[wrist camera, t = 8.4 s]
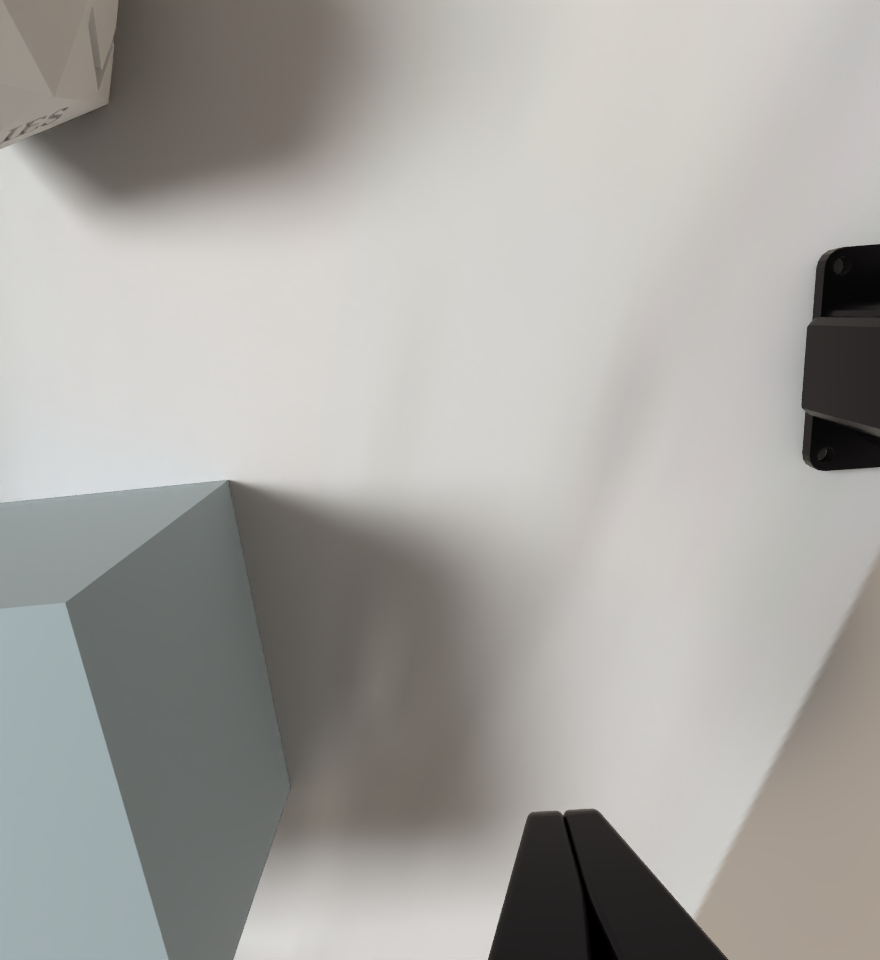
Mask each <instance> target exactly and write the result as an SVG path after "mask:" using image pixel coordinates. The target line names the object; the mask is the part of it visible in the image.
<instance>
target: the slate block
mask: <svg viewBox="0 0 880 960" xmlns="http://www.w3.org/2000/svg"><path fill="white" fill-rule="evenodd" d="M290 788H291V786H290V781H289V776H288V771H287V767H286V762H285V757H284V752H283V747H282V742H281V737H280V732H279V727H278V722H277V717H276V712H275V708H274V703H273V698H272V693H271V688H270V683H269V678H268V673H267V668H266V663H265V658H264V653H263V648H262V644H261V639H260V634H259V629H258V624H257V619H256V614H255V609H254V604H253V599H252V594H251V589H250V585H249V580H248V575H247V570H246V565H245V560H244V555H243V550H242V545H241V540H240V535H239V530H238V525H237V521H236V516H235V511H234V506H233V501H232V496H231V491H230V486H229V481H228V480H223V481H213V482H203V483H193V484H183V485H173V486H163V487H154V488H144V489H134V490H124V491H114V492H104V493H95V494H85V495H75V496H65V497H55V498H45V499H36V500H26V501H16V502H6V503H0V960H233V959H234V956H235V953H236V950H237V947H238V944H239V941H240V938H241V935H242V932H243V929H244V926H245V923H246V920H247V917H248V914H249V911H250V908H251V905H252V902H253V899H254V896H255V893H256V890H257V887H258V884H259V881H260V878H261V875H262V872H263V869H264V866H265V863H266V860H267V857H268V854H269V851H270V848H271V845H272V842H273V839H274V836H275V833H276V830H277V827H278V824H279V821H280V818H281V815H282V812H283V809H284V806H285V803H286V800H287V797H288V794H289V791H290Z"/></svg>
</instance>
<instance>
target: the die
mask: <svg viewBox="0 0 880 960" xmlns="http://www.w3.org/2000/svg"><path fill="white" fill-rule="evenodd" d="M118 2H119V0H0V149H1V148H4V147H6V146H9V145H11V144H13V143H16V142H18V141H21V140H23V139H25V138H28V137H30V136H33V135H35V134H37V133H40V132H42V131H45V130H47V129H49V128H52V127H54V126H57V125H59V124H61V123H64V122H66V121H69V120H71V119H73V118H76V117H78V116H81V115H83V114H85V113H88V112H90V111H93V110H95V109H97V108H100V107H102V106H105V105H107V104H109V95H110V85H111V74H112V64H113V54H114V44H115V43H114V40H113V37H114V34H115V31H116V23H117V13H118Z"/></svg>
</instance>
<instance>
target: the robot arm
mask: <svg viewBox="0 0 880 960" xmlns="http://www.w3.org/2000/svg"><path fill="white" fill-rule="evenodd" d="M838 258H839V259H840V260H841V261H842V262H843V268H842V271H841V272H840V273H839V274H838V275H837V274H836V273H835V272H834V268H833V266H834V263H835V261H836V260H837V259H838ZM802 408H803V409H804V410H805V411H806V412H805V425H804V438H803V451H802V455H803V460H804V461H805V463H806V464H807V465H809V466H810V467H812V468H815V469H817V470H822V471H830V470H844V469H858V468H873V467H880V244H877V245H864V246H852V247H842V248H836V249H833V250H829V251H827V252H826V253H825V254H823V255H822V257H821V258H820V260H819V261H818V264H817V268H816V281H815V294H814V307H813V320H812V322H811V323H810V324H809V325H808V327H807V338H806V351H805V364H804V378H803V391H802ZM825 447H826V449H827V453H826V456H825V457H824V458H823V459H820V460H818V453H819V451H820V450H821V449H822V448H825ZM488 960H728V959H727V958H726V956H725V955H724V954H723V953H722V952H721V951H720V950H719V948H718V947H717V946H716V945H715V944H714V943H713V942H712V941H711V939H710V938H709V937H708V936H707V935H706V934H705V933H704V931H703V930H702V929H701V928H700V927H699V926H698V924H697V923H696V922H695V921H694V920H693V919H692V917H691V916H690V915H689V914H688V913H687V912H686V911H685V909H684V908H683V907H682V906H681V905H680V904H679V903H678V901H677V900H676V899H675V898H674V897H673V896H672V895H671V893H670V892H669V891H668V890H667V889H666V888H665V887H664V885H663V884H662V883H661V882H660V881H659V880H658V878H657V877H656V876H655V875H654V874H653V873H652V872H651V870H650V869H649V868H648V867H647V866H646V865H645V864H644V862H643V861H642V860H641V859H640V858H639V857H638V856H637V854H636V853H635V852H634V851H633V850H632V849H631V848H630V846H629V845H628V844H627V843H626V842H625V841H624V839H623V838H622V837H621V836H620V835H619V834H618V833H617V831H616V830H615V829H614V828H613V827H612V826H611V825H610V823H609V822H608V821H607V820H606V819H605V818H604V817H603V815H602V814H601V813H600V812H599V811H597V810H595V809H578V810H567V811H566V812H565V813H564V815H562V814H561V812H559V811H542V812H532V813H530V814H529V816H528V817H527V820H526V824H525V828H524V831H523V835H522V838H521V842H520V846H519V849H518V853H517V857H516V860H515V864H514V867H513V871H512V875H511V878H510V882H509V885H508V889H507V893H506V896H505V900H504V904H503V907H502V911H501V914H500V918H499V922H498V925H497V929H496V933H495V936H494V940H493V943H492V947H491V951H490V954H489V958H488Z"/></svg>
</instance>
